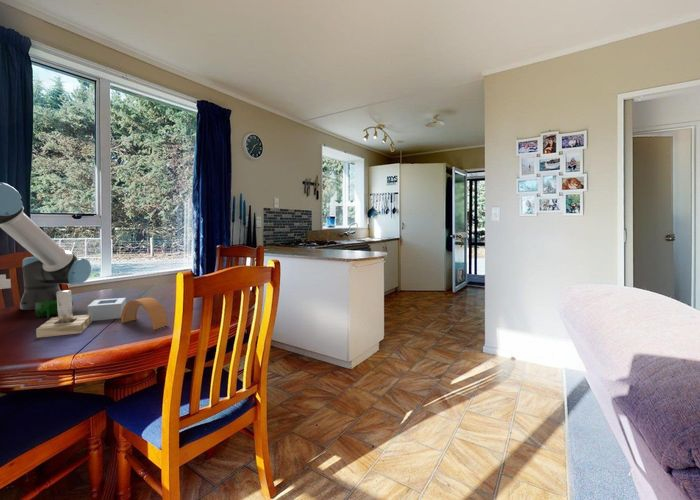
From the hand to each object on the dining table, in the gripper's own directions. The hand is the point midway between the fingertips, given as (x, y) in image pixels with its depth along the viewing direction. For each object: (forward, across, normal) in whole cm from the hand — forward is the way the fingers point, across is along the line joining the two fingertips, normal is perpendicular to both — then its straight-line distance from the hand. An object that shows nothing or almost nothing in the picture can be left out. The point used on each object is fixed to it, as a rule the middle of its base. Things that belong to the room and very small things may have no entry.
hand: (8, 280), depth 108 cm
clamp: (+15, -27, -20) cm, 37 cm away
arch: (+35, +13, -20) cm, 42 cm away
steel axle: (+14, -1, -20) cm, 24 cm away
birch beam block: (+14, -1, -20) cm, 24 cm away
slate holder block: (+29, -9, -19) cm, 36 cm away
